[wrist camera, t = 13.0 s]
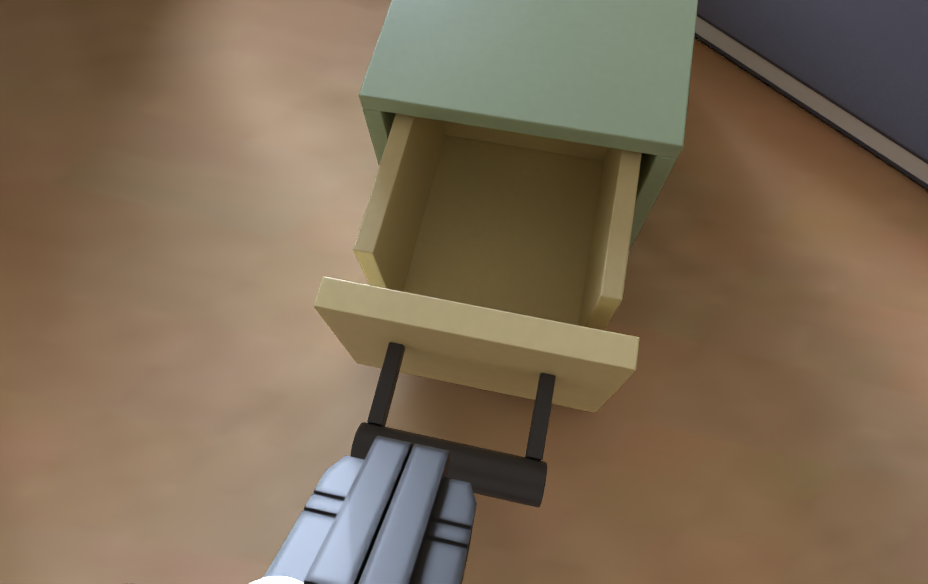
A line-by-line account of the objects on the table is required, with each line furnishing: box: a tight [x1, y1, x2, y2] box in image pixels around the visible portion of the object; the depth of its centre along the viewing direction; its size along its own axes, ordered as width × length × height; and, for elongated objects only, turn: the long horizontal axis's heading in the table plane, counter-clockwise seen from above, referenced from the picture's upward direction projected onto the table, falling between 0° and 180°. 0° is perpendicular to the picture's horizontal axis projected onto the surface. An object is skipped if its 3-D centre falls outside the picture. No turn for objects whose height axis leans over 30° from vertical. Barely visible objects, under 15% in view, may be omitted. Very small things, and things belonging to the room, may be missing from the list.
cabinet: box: [359, 0, 698, 251], centre depth 30 cm, size 15×13×10 cm
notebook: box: [695, 0, 928, 189], centre depth 35 cm, size 13×2×21 cm
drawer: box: [314, 113, 642, 507], centre depth 26 cm, size 18×11×8 cm, turn 168°
